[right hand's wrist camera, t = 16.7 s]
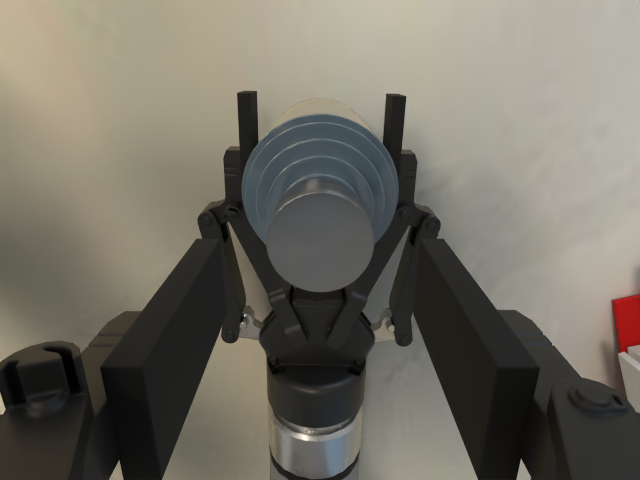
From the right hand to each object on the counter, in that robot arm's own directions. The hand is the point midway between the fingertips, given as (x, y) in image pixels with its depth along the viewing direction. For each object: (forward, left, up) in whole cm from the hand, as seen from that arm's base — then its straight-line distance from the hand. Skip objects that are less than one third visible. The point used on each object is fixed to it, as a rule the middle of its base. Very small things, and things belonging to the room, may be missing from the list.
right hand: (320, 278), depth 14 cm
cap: (0, 0, -3) cm, 3 cm away
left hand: (-3, +4, -15) cm, 16 cm away
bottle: (0, 0, -21) cm, 21 cm away
